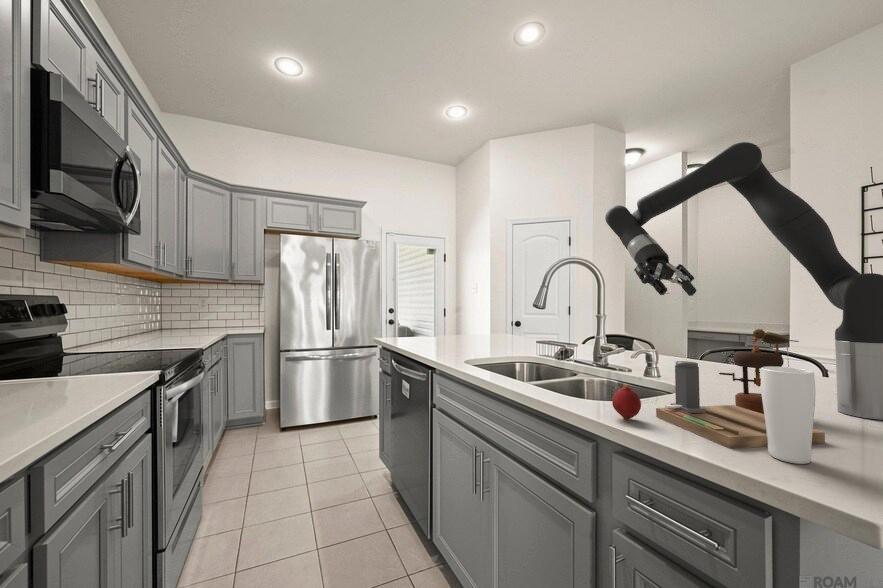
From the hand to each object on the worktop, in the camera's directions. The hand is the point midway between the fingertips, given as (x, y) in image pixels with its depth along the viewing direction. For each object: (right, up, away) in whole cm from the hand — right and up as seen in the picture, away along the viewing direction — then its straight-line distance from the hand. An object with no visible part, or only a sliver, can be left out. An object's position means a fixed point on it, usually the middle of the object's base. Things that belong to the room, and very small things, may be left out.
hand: (678, 293), depth 94 cm
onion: (-19, -29, -10) cm, 36 cm away
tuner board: (0, -28, -17) cm, 33 cm away
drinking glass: (-2, -28, -32) cm, 43 cm away
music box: (+16, -29, -5) cm, 34 cm away
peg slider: (-6, -26, -11) cm, 29 cm away
